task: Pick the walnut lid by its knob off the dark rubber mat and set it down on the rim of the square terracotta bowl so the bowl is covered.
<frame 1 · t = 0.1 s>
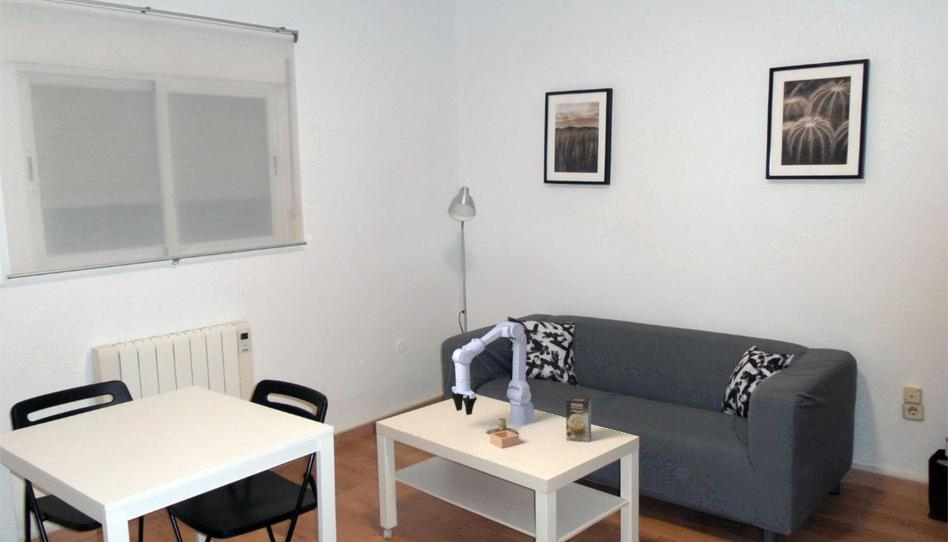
hand: (464, 412, 307), 10 cm above the table, fingers open, 7 cm apart
lid: (502, 433, 309), resting on mat
coffee box: (578, 439, 301), on the table
mat: (502, 434, 309), on the table
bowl: (504, 444, 297), on the table
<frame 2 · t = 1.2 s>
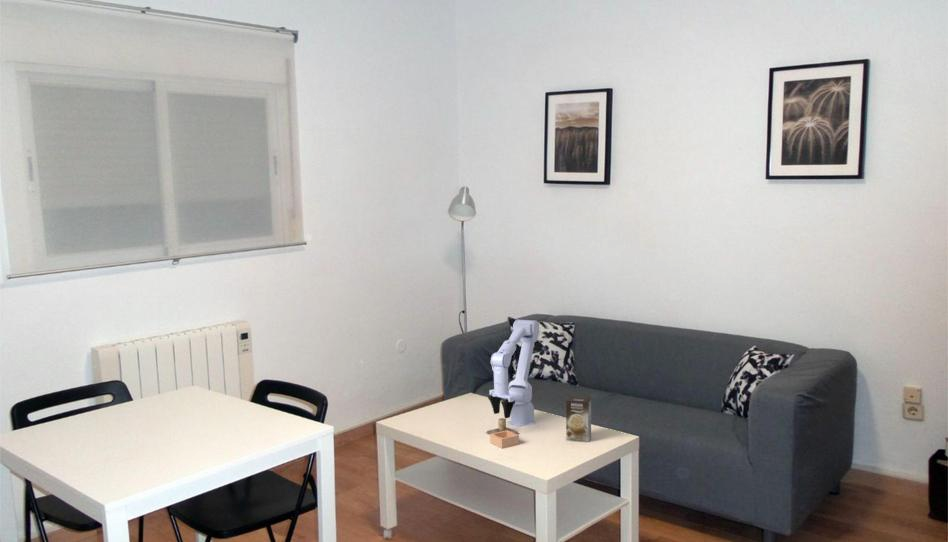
hand: (501, 415, 308), 8 cm above the table, fingers open, 7 cm apart
nothing on the table moved.
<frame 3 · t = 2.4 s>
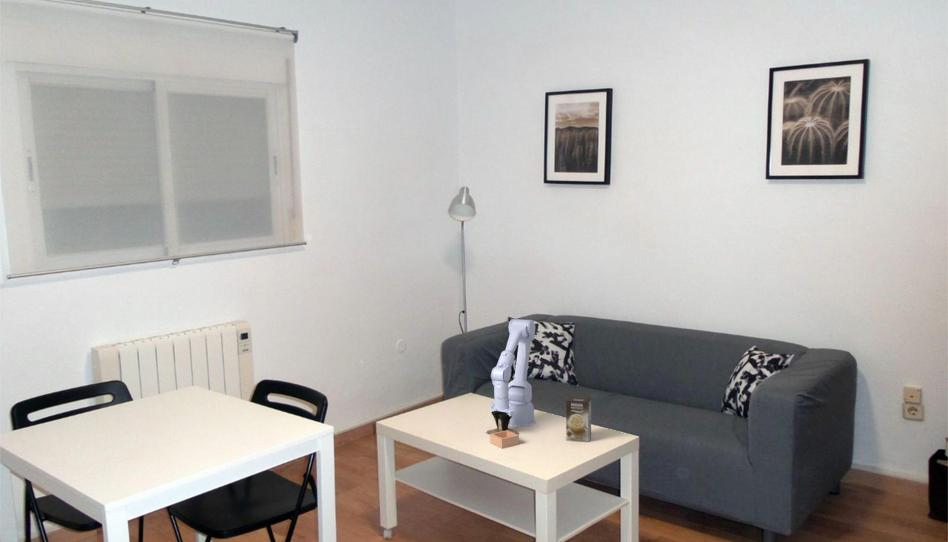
hand: (502, 429, 309), 2 cm above the table, fingers closed on lid, 3 cm apart
lid: (502, 433, 309), resting on mat, touching gripper
everything else where it was.
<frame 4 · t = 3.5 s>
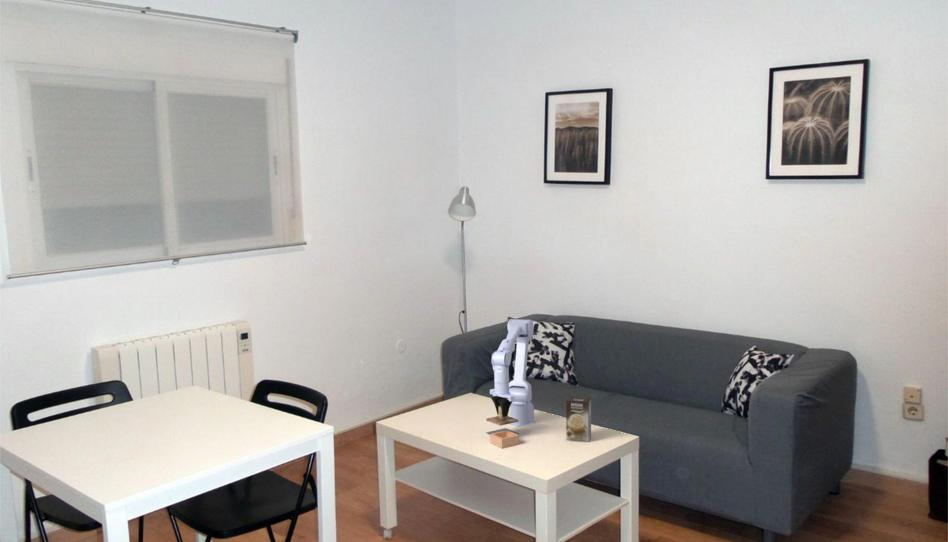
hand: (502, 415, 303), 9 cm above the table, fingers closed on lid, 3 cm apart
lid: (502, 421, 303), point 7 cm above the table, touching gripper
everything else where it was.
when the fingers open (7 cm above the table, at t = 4.5 s): lid stays where it is, resting on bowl.
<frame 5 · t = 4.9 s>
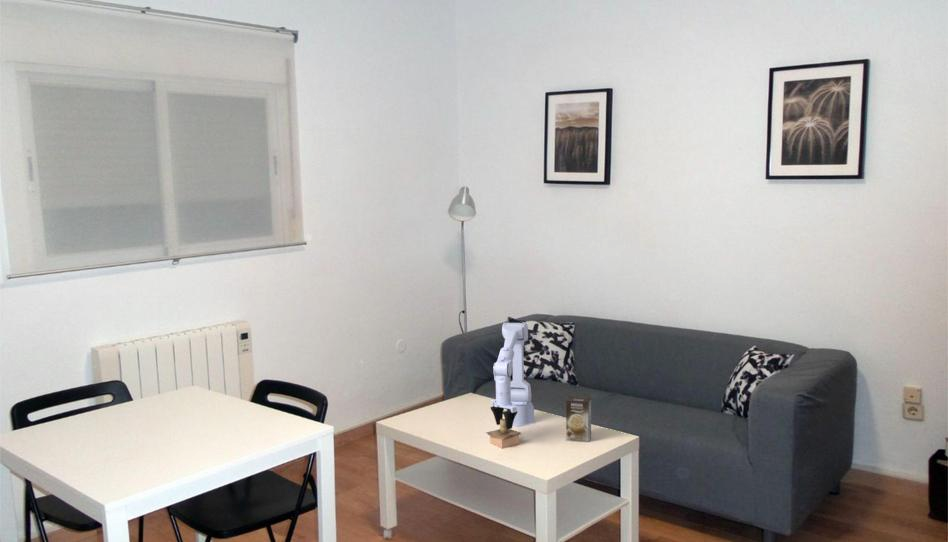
hand: (504, 426, 296), 7 cm above the table, fingers open, 6 cm apart
lid: (504, 434, 296), point 4 cm above the table, touching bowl
everything else where it was.
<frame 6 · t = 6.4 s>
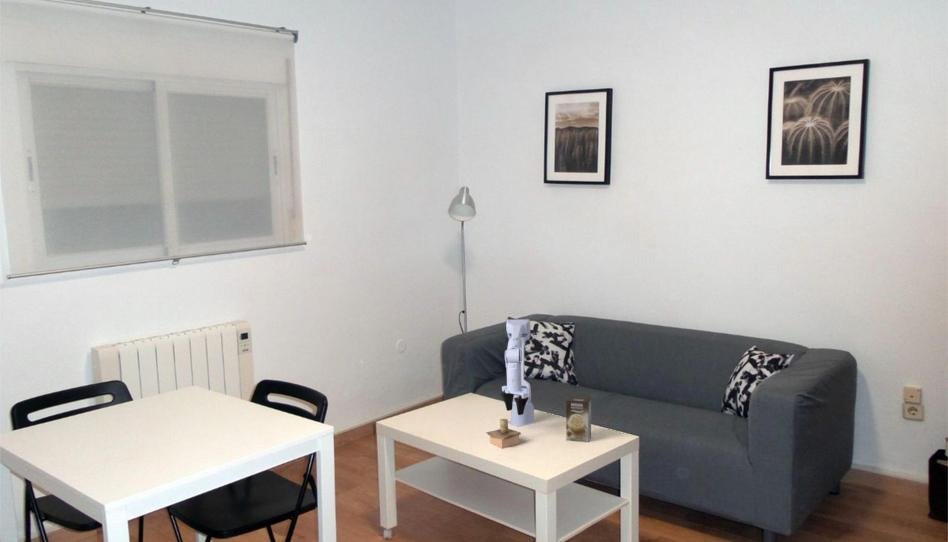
hand: (514, 412, 303), 10 cm above the table, fingers open, 7 cm apart
nothing on the table moved.
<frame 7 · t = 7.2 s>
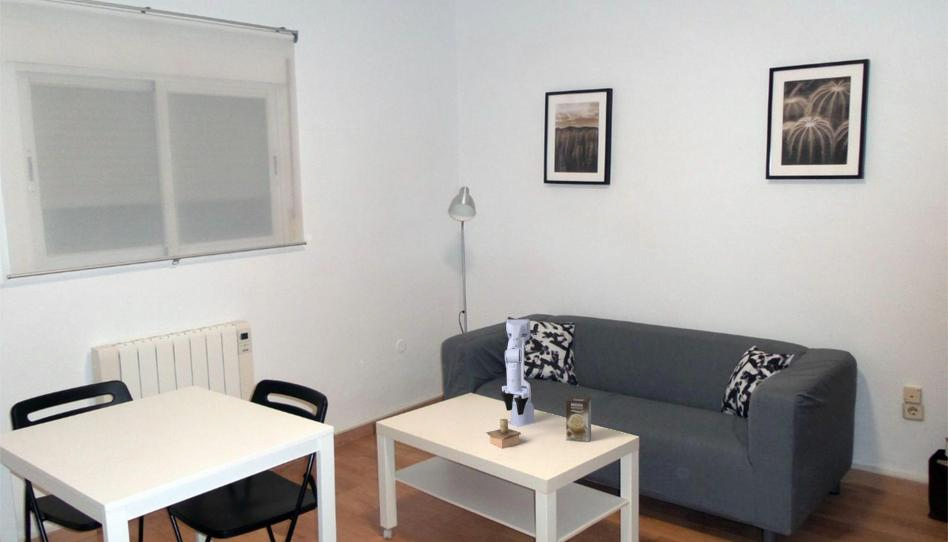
hand: (514, 412, 303), 10 cm above the table, fingers open, 7 cm apart
nothing on the table moved.
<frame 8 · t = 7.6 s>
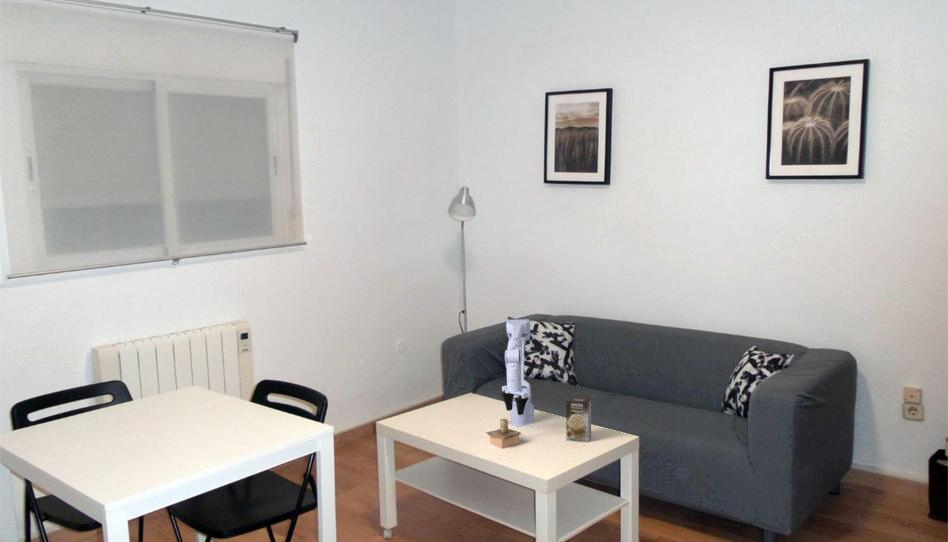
hand: (514, 412, 303), 10 cm above the table, fingers open, 7 cm apart
nothing on the table moved.
at the end: lid 0.1 cm off-centre on the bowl, point 4.0 cm above the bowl's base; lid tilted 0°; the gripper is holding nothing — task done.
